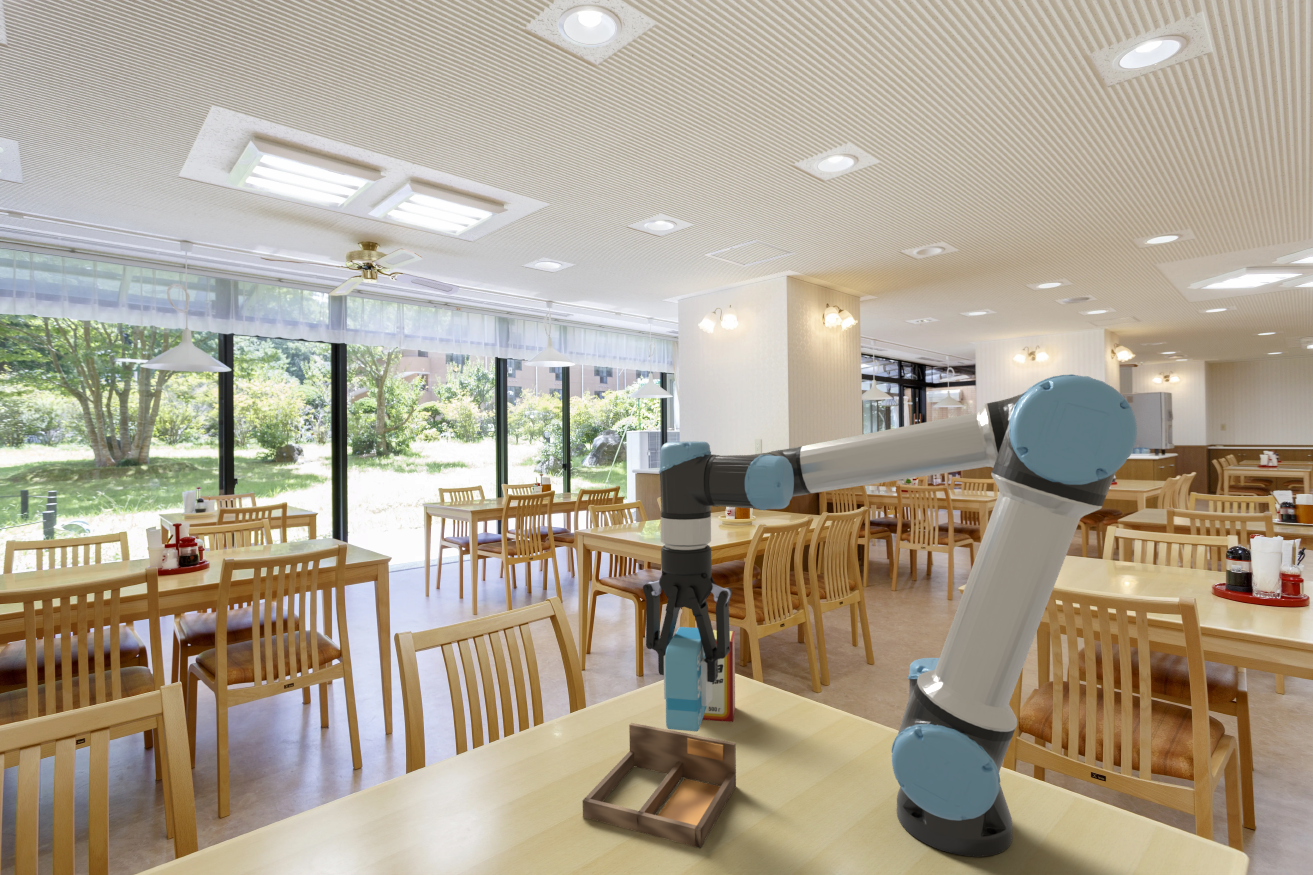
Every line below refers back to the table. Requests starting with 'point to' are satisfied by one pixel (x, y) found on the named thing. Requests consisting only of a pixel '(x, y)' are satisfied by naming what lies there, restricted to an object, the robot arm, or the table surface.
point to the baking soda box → (723, 687)
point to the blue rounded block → (684, 680)
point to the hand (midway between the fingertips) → (688, 698)
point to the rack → (670, 785)
